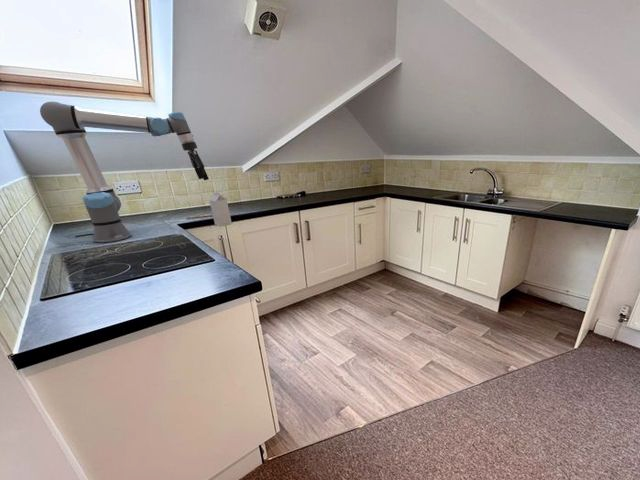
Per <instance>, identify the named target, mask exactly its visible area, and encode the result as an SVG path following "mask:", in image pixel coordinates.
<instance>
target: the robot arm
mask: <svg viewBox="0 0 640 480" xmlns="http://www.w3.org/2000/svg"><path fill="white" fill-rule="evenodd" d="M39 114H40V117H41V118H42V120H43V121H44V122H45V123H46V124H47V125H49V126H50V127H51V128H52V130H53V131H54V134H55V135H56V137H57V138H60V139H61V140H63V143H64V145H65V146H66V149H67V151H68V152H69V154H70V157H71V158H72V161H73V162H74V164H75V166H76V169H77V171H78V172H79V174H80V176H81V178H82V180H83V182H84V184H85V186H86V188H87V189H86V191H85V195H84V196H83V197H82V200H83V201H82V202H83V205H84V207H85V208H86V211H87V214H88V215H89V218H90V221H91V223H92V226H93V233H85V234H78V235H74V236H75V238H80V237H86V236H93V240H94V242H95V243H97V244H107V243H114V242H119V241H124V240H126V239H129V238H130V237H132V235H131V233H130V231H129V230H128V229H127V228H126V226H125V225H124V224H123V222H122V220H121V217H120V213H119V211H120V209H121V207H122V201H121V200H120V198H119V196H118V195H116V193H115V190H114V188H113V187H111V186H109V185H108V183H107V181H106V179H105V177H104V175H103V173H102V170H101V168H100V166H99V164H98V162H97V160H96V158H95V155H94V154H93V151H92V149H91V148H90V145H89V143H88V141H87V139H86V136H87V135H88V133H87V131H86V129H85V128H92V129H103V130H113V131H123V132H124V131H125V132H132V133H133V132H136V133H146V134H151V136H152V137H161V136H165V135H170V134H176V137H177V139H178V141H179V143H180V144H181V147H182V149H183V151H184V152H186V151H187V154H188V155H187V156H188V158H189V160H190V163H191V166H192V168H193V169H194V171H195V174H196V176H197V179H198V180H203V181H209V175H208V173H207V171H206V169H205V165H204V162H203V161H202V159H201V158H200V155H199V154H198V151H197V150H195V149H198V145H197V143H196V141H195V139H194V135H193V134H192V131H191V128H190V127H189V124H188V121H187V119H186V117H185V115H184V113H183V112H182V111H175V112H171V113H168V117H167V118H161V117H153V116H152V117H151V116H143V115H135V114H126V113H118V112H111V111H110V112H109V111H102V110H94V109H84V108H80V107H78V106H77V105H72V104H66V103H61V102H58V101H46V102H44V103H42V105H41V106H40V109H39Z"/></svg>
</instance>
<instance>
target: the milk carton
mask: <svg viewBox="0 0 640 480" xmlns="http://www.w3.org/2000/svg"><path fill="white" fill-rule="evenodd" d="M208 201H209V205H210V210H211V214H212V218H213V221H214V225H215V226H217V227H225V226H229V225H232V224H233V222H232V218H231V213H230V208H229V204H228V200H227V199H226V198H225V197H224V196H223V194H221V193H220V192H213V195H212V196H211V197H210V199H209V200H208Z"/></svg>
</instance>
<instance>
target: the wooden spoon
mask: <svg viewBox="0 0 640 480" xmlns="http://www.w3.org/2000/svg"><path fill="white" fill-rule="evenodd" d="M210 217H213V214H212V213H207V214H206V213H205V214H201V215H194V216H193V215H192V216H187V217H186V219H187V220H189V219H190V220H191V219H198V218H210Z"/></svg>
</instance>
